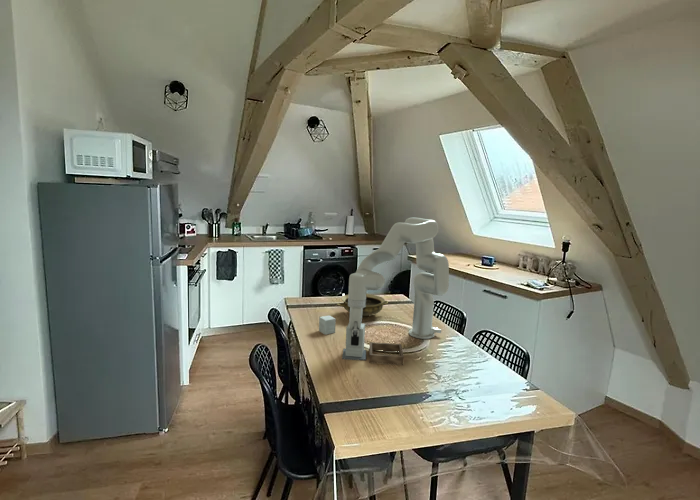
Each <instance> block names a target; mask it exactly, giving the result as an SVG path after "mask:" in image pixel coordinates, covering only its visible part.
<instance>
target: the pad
mask: <svg viewBox="0 0 700 500" xmlns="http://www.w3.org/2000/svg"><path fill="white" fill-rule="evenodd" d="M341 359H342V360H351V361H363V362H364V361H365V362H366V360H367V349H364V352H363V355H362V357H354V356H346V348H343V350H342V356H341Z"/></svg>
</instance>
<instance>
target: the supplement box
mask: <svg viewBox="0 0 700 500" xmlns="http://www.w3.org/2000/svg"><path fill="white" fill-rule="evenodd" d="M345 329H346V330H345V349H346V356H354V357H362V355H363V352H364V350H365V337H366V323H361V329H360V331H359V334H358V336H359V345H358V346H353V345H351V336H352V330H349V323H348V324H347V326H346V328H345ZM353 329H354V328H353ZM357 329H358V328H357ZM353 332H354V331H353Z"/></svg>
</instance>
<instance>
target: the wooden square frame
mask: <svg viewBox="0 0 700 500" xmlns="http://www.w3.org/2000/svg"><path fill="white" fill-rule="evenodd" d="M374 350H375V351H374ZM376 350H383V351H382V352H386V351H397V352H396V353H398V355H393V354H392V355H390V354H377V353H375V354H374V353H373V352H377V351H376ZM398 351H399V352H398ZM368 352H369V354H368V356H369V358H368V359H369V364H381V365H395V366H396V365H397V366H404V360H405V357H404V351H403V346H402V344H401V343H389V342H376V341H375V342H373V341H372V342H371V341H369V350H368Z"/></svg>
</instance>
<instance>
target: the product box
mask: <svg viewBox="0 0 700 500" xmlns="http://www.w3.org/2000/svg"><path fill="white" fill-rule="evenodd" d="M318 320H319V321H318V332H319V333H321V334H323V335H325V336H326V335H329V334H334V333H336V318H335V317H333V316H331V315H323V316H319V319H318Z"/></svg>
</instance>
